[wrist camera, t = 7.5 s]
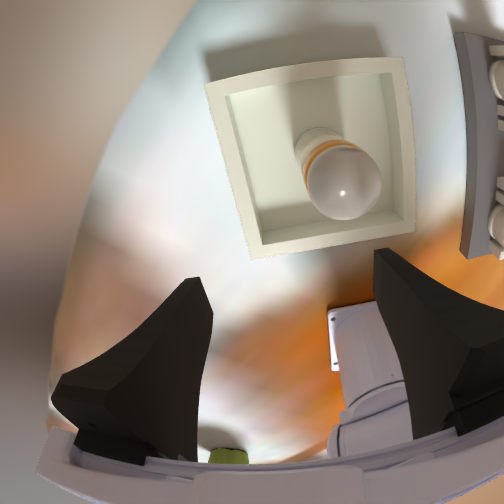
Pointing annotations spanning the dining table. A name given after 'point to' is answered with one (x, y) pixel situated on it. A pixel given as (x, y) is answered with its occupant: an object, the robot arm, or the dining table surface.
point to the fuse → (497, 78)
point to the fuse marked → (337, 174)
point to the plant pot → (228, 457)
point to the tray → (292, 127)
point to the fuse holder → (481, 143)
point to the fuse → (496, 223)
